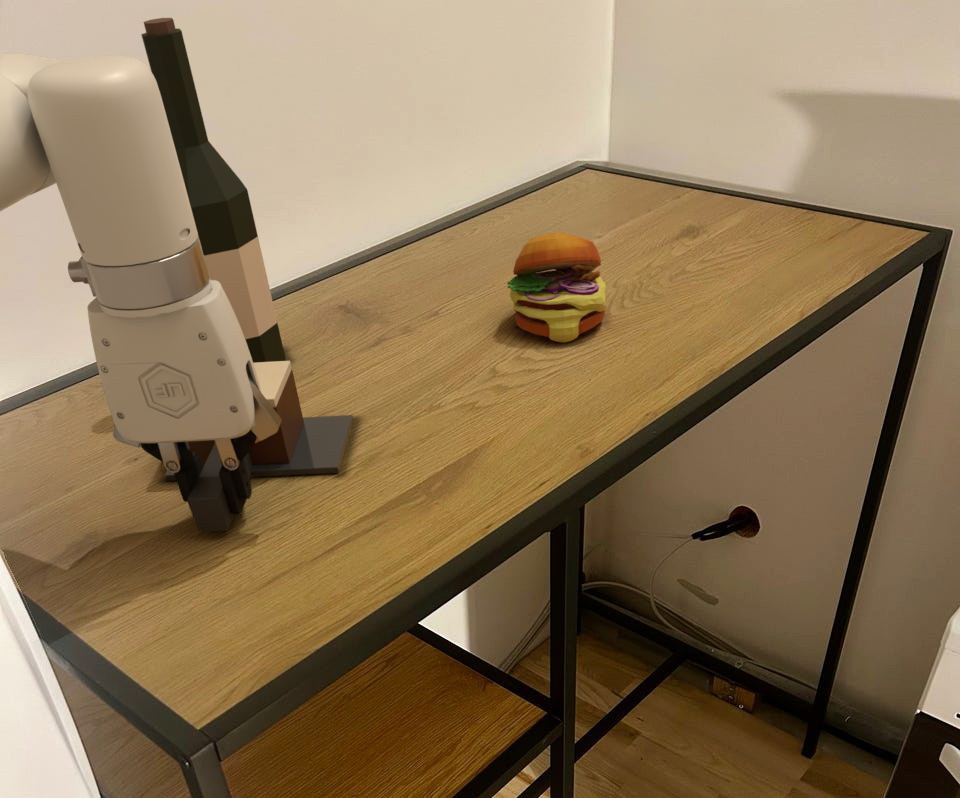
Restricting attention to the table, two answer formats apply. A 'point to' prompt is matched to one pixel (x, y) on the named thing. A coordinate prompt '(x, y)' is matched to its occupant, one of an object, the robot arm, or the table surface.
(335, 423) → the board
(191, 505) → the knife
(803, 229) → the table surface
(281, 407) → the cake slice
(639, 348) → the table surface
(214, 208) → the wine bottle
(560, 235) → the cheeseburger
